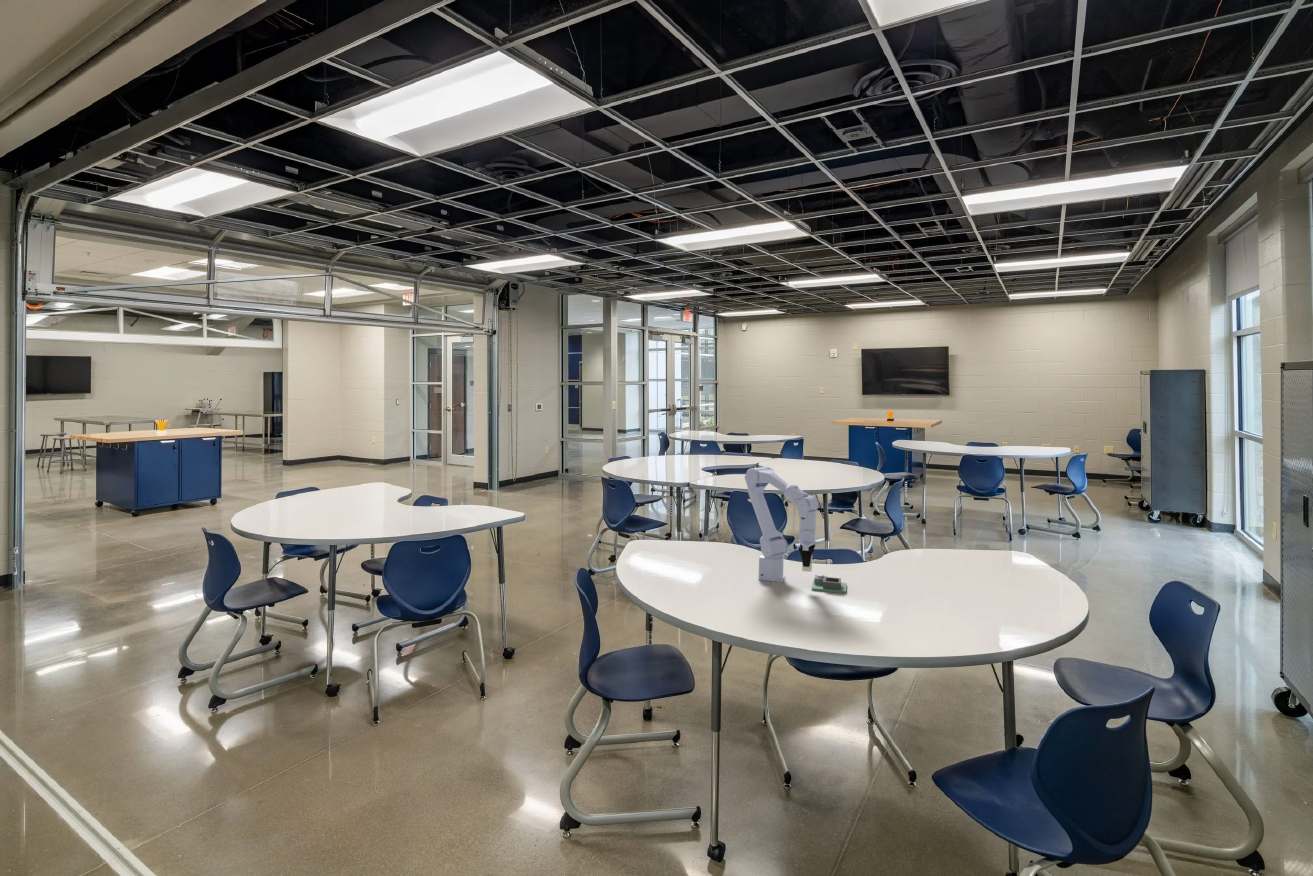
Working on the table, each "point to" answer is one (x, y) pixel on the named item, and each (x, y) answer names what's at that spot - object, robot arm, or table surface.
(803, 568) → the plug
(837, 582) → the board
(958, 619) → the table surface
